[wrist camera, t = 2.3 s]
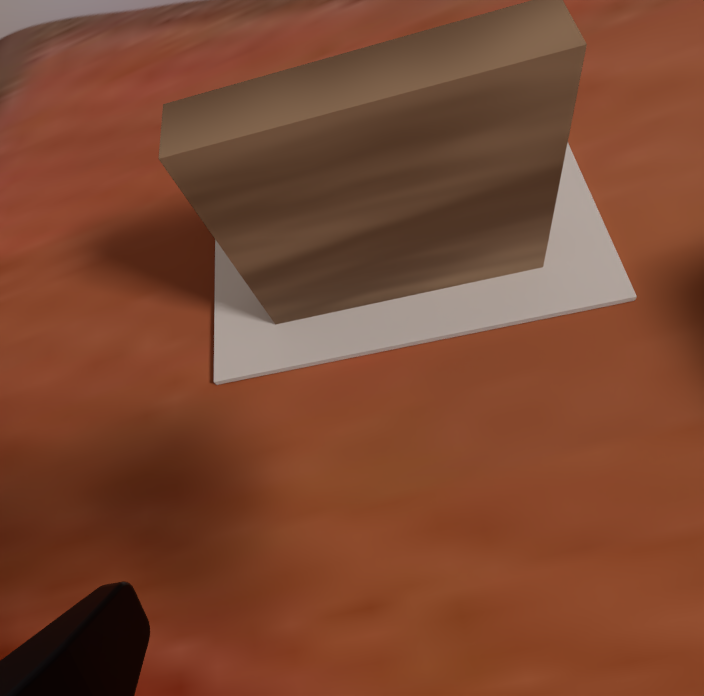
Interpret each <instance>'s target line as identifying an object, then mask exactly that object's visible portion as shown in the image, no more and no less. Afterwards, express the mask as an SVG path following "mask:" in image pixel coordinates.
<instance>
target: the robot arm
mask: <svg viewBox="0 0 704 696" xmlns="http://www.w3.org/2000/svg"><path fill="white" fill-rule="evenodd" d="M149 637H150V626H149V621H148V619H147V616H146V614H145V612H144V610H143V608H142V605H141V603H140V601H139V599H138V597H137V594H136V592H135V590H134V588H133V586H132V585H131V584H129V583H128V582H118V583H112V584H107V585H103V586H101V587H99V588H97V589H96V590H95V591H93V592H92V593H91V594H89V595H88V596H87V597H85V598H84V599H83V600H81V601H80V602H78V603H77V604H76V605H74V606H73V607H72V608H70V609H69V610H68V611H66V612H65V613H64V614H62V615H61V616H60V617H58V618H57V619H56V620H54V621H53V622H52V623H50V624H49V625H48V626H46V627H45V628H44V629H42V630H41V631H40V632H38V633H37V634H36V635H34V636H33V637H32V638H30V639H29V640H28V641H26V642H25V643H24V644H22V645H21V646H20V647H18V648H17V649H16V650H14V651H13V652H11V653H10V654H9V655H7V656H6V657H5V658H3V659H2V660H1V661H0V696H134V695H135V691H136V687H137V683H138V680H139V676H140V672H141V668H142V665H143V661H144V657H145V653H146V650H147V646H148V642H149Z"/></svg>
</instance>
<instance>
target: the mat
mask: <svg viewBox="0 0 704 696" xmlns="http://www.w3.org/2000/svg"><path fill="white" fill-rule="evenodd" d="M636 297H637V296H636V294H635V292H634V289H633V287H632V285H631V283H630V280H629V278H628V276H627V274H626V272H625V269H624V267H623V265H622V263H621V260H620V258H619V256H618V254H617V251H616V249H615V247H614V245H613V243H612V240H611V238H610V236H609V234H608V231H607V229H606V227H605V225H604V222H603V220H602V218H601V216H600V213H599V211H598V209H597V207H596V205H595V202H594V200H593V198H592V196H591V193H590V191H589V189H588V187H587V184H586V182H585V180H584V178H583V176H582V173H581V171H580V169H579V167H578V164H577V162H576V160H575V158H574V155H573V153H572V151H571V149H570V147H569V144H568V143H567V148H566V153H565V158H564V163H563V168H562V173H561V178H560V184H559V189H558V194H557V199H556V204H555V209H554V214H553V219H552V225H551V230H550V235H549V240H548V245H547V250H546V255H545V260H544V266H543V267H542V268H537V269H532V270H528V271H523V272H518V273H514V274H509V275H504V276H500V277H495V278H490V279H486V280H481V281H476V282H472V283H467V284H462V285H458V286H453V287H448V288H444V289H439V290H434V291H430V292H425V293H420V294H416V295H411V296H406V297H402V298H397V299H392V300H388V301H383V302H379V303H374V304H369V305H365V306H360V307H355V308H351V309H346V310H341V311H337V312H332V313H327V314H323V315H318V316H313V317H309V318H304V319H299V320H295V321H290V322H285V323H281V324H276V325H275V323H274V322H273V320H272V319H271V318H270V316H269V315H268V313H267V312H266V311H265V309H264V308H263V306H262V305H261V303H260V302H259V301H258V299H257V298H256V296H255V295H254V293H253V292H252V291H251V289H250V288H249V286H248V285H247V284H246V282H245V281H244V279H243V278H242V276H241V275H240V274H239V272H238V271H237V269H236V268H235V267H234V265H233V264H232V262H231V261H230V259H229V258H228V257H227V255H226V254H225V252H224V251H223V249H222V248H221V247H220V245H219V244H218V242H217V241H216V240H215V311H214V383H215V384H216V385H218V384H223V383H228V382H233V381H238V380H243V379H248V378H253V377H258V376H263V375H268V374H273V373H278V372H283V371H288V370H293V369H298V368H303V367H308V366H313V365H317V364H322V363H327V362H332V361H337V360H342V359H347V358H352V357H357V356H362V355H367V354H372V353H377V352H382V351H387V350H392V349H397V348H402V347H407V346H412V345H417V344H422V343H427V342H432V341H437V340H441V339H446V338H451V337H456V336H461V335H466V334H471V333H476V332H481V331H486V330H491V329H496V328H501V327H506V326H511V325H516V324H521V323H526V322H531V321H536V320H541V319H546V318H551V317H556V316H560V315H565V314H570V313H575V312H580V311H585V310H590V309H595V308H600V307H605V306H610V305H615V304H620V303H625V302H630V301H635V299H636Z"/></svg>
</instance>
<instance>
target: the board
mask: <svg viewBox="0 0 704 696" xmlns="http://www.w3.org/2000/svg"><path fill="white" fill-rule="evenodd" d="M586 45H587V44H586V42H585V40H584V39H583V37H582V35H581V33H580V31H579V29H578V28H577V26H576V24H575V22H574V20H573V18H572V17H571V15H570V13H569V11H568V9H567V7H566V5H565V4H564V2H563V0H532V1H528V2H524V3H521V4H517V5H514V6H510V7H507V8H503V9H500V10H496V11H493V12H489V13H485V14H482V15H478V16H475V17H471V18H468V19H464V20H461V21H457V22H454V23H450V24H446V25H443V26H439V27H436V28H432V29H429V30H425V31H422V32H418V33H415V34H411V35H407V36H404V37H400V38H397V39H393V40H390V41H386V42H383V43H379V44H376V45H372V46H368V47H365V48H361V49H358V50H354V51H351V52H347V53H344V54H340V55H337V56H333V57H329V58H326V59H322V60H319V61H315V62H312V63H308V64H305V65H301V66H298V67H294V68H290V69H287V70H283V71H280V72H276V73H273V74H269V75H266V76H262V77H259V78H255V79H251V80H248V81H244V82H241V83H237V84H234V85H230V86H227V87H223V88H220V89H216V90H212V91H209V92H205V93H202V94H198V95H195V96H191V97H188V98H184V99H181V100H177V101H173V102H170V103H166V104H163V113H162V125H161V137H160V149H159V160H160V161H161V163H162V164H163V166H164V167H165V169H166V170H167V171H168V173H169V174H170V176H171V177H172V179H173V180H174V181H175V183H176V184H177V186H178V187H179V188H180V190H181V191H182V193H183V194H184V196H185V197H186V198H187V200H188V201H189V203H190V204H191V205H192V207H193V208H194V210H195V211H196V213H197V214H198V215H199V217H200V218H201V220H202V221H203V223H204V224H205V225H206V227H207V228H208V230H209V231H210V232H211V234H212V235H213V237H214V238H215V240H216V241H217V242H218V244H219V245H220V247H221V248H222V249H223V251H224V252H225V254H226V255H227V257H228V258H229V259H230V261H231V262H232V264H233V265H234V267H235V268H236V269H237V271H238V272H239V274H240V275H241V276H242V278H243V279H244V281H245V282H246V284H247V285H248V286H249V288H250V289H251V291H252V292H253V293H254V295H255V296H256V298H257V299H258V301H259V302H260V303H261V305H262V306H263V308H264V309H265V311H266V312H267V313H268V315H269V316H270V318H271V319H272V320H273V322H274V323H275V325H276V324H281V323H285V322H290V321H295V320H299V319H304V318H309V317H313V316H318V315H323V314H327V313H332V312H337V311H341V310H346V309H351V308H355V307H360V306H365V305H369V304H374V303H379V302H383V301H388V300H392V299H397V298H402V297H406V296H411V295H416V294H420V293H425V292H430V291H434V290H439V289H444V288H448V287H453V286H458V285H462V284H467V283H472V282H476V281H481V280H486V279H490V278H495V277H500V276H504V275H509V274H514V273H518V272H523V271H528V270H532V269H537V268H542V267H543V266H544V260H545V255H546V250H547V245H548V240H549V235H550V230H551V225H552V219H553V214H554V209H555V204H556V199H557V194H558V189H559V184H560V178H561V173H562V168H563V163H564V158H565V153H566V148H567V143H568V137H569V132H570V127H571V122H572V117H573V112H574V107H575V102H576V96H577V91H578V86H579V81H580V76H581V71H582V66H583V61H584V55H585V50H586Z"/></svg>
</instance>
